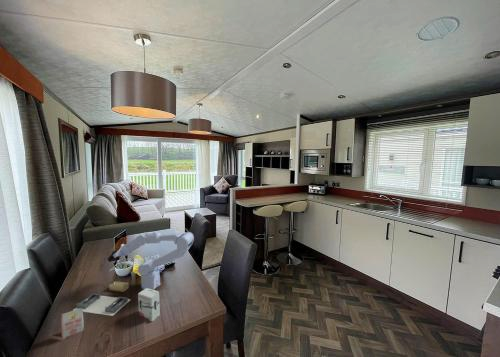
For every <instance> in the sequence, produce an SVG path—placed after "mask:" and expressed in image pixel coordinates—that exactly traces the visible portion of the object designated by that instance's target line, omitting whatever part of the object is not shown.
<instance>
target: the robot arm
mask: <svg viewBox="0 0 500 357" xmlns="http://www.w3.org/2000/svg"><path fill="white" fill-rule="evenodd" d="M194 236H195V235H194V234H193V233H192V232H190V231H186V232H185V231H182V232H181V231H180V232H173V233H166V234H164V233H163V234H162V233H161V232H157V231H154V232H143V233H141V234H139V235H138V236H136V237H135V238H133V239H132V240H130V241H128V242H127V243H125V244H124V243H122V244H120V248H119V249H118V250H116V249H114V250H113V251H112V252H111V254H110V256H108V257H107V261H108V262H109V263H111V262H113V261H114V262H115V261H119V260H121V258H120V257H126V256H129V255H130V254H132V253H133V252H134V251H136V250H137V249H139V248H141V247H142V246H144V245H146V244H148V245H149V244H151V245H152V244H159V243H161V242H165V241H166V242H172V241H173V243H174V244H175V245H176V249H173V250H171V251H170V252H167V253H164V254H163V255H160V256H157V257H150V258H148V259H147V260H146V261H145V262H143V263H142V264H140V265H138V268H137V271H138V274H139V275H140V277H141V279H140V282H141V284H140V285H141V287H140V288H141V289H142V290H144V289H145V288H149V289H152V290H155V289H156V288H157V287H159V286H160V285H161V284H162V283H161V276H160V275H161V274H160V273H159V272H157V271H156V268H158V267H161V266H163V265H165V264H169V263H170V262H172V261H175V260H177V259H180V258H183V257H184V256H185V255H186V254H187V253H188V251H189V249H190V248H191V247H192V245H193V243H194V240H195V237H194Z"/></svg>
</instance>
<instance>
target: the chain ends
mask: <svg viewBox="0 0 500 357" xmlns="http://www.w3.org/2000/svg"><path fill="white" fill-rule="evenodd" d="M100 296H101V294H100V293H91V294H90V295H89V296H88V297H86V298H85V299H83V300H81V301H80V302H77V303H76V307H77V308H82V309H86V308H87V306H89V305H90V304H92V303H93V302H94V301H96V300H97V299H100V298H101V297H100ZM117 298H118V299H117V300H115V301H114V302H113V303H112V304H111V305H109V306H108V307H106V308H105V312H111V313H115V312H116V310H117V309H118V308H120V307H121V306H122V305H123V304H124V303H125V302H128V299H129V298H128V297H125V296H118V297H117ZM128 303H129V302H128ZM116 313H117V312H116ZM116 313H115V314H116Z"/></svg>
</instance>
